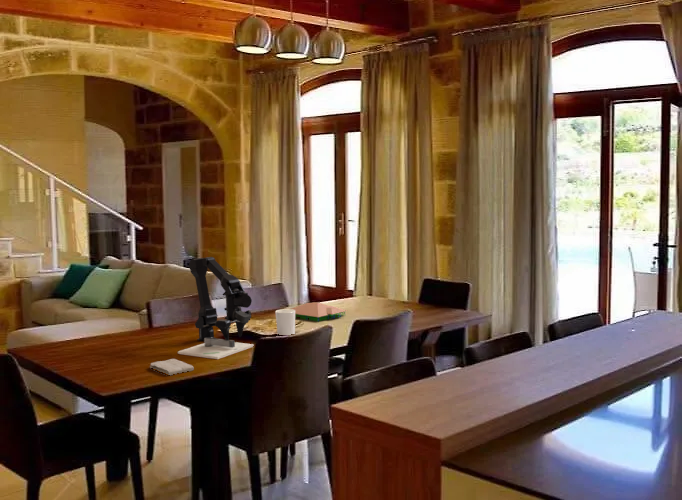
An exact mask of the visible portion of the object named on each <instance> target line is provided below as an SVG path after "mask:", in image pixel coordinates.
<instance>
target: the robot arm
mask: <svg viewBox="0 0 682 500" xmlns="http://www.w3.org/2000/svg"><path fill="white" fill-rule="evenodd" d="M188 267H189V271H190V273H191V275H192V276H193V277H194V279H195V284H196V288H197V289H196V290H197V293H198V294H197V295H198V300H199V307H200V308H199V310H198V319H197V320H196V322H194V326H195V329H198V337H199V338H197V339H196V340H197V341H203V342H204V338H206V337H213V338H216V337H215V334H214V327H216V328H217V329H219V330H220V332H221V334H222V335H223V338H224V339H225V340H230V330H231V328H232V326H231V324H233V323H235V326H236V330H237V335H238V337H239V338H241V337H242V335H243V332H244V328H245V326H246V324H248V323H249V321H251V319H252V311H251V310H244V311H243V310H242V308H249V307H250V306H251V305H252V302H253V301H252V298H251V296H250V295H249V293H248V292H246V291H245V289H244V287H243V285H242V283H241V281H240V279H239V278H238V277H236V276H235V275H232V274H230V273H228V272H227V271H226V270H225V269H224V268H223V267H222V265H221V264H219V263H218V262H217V260H216V259H215V257H214V256H209V257H208V256H207V257H198V258H192V259H190V260H189V263H188ZM208 270H209V271H210V272H211V273H212V274H213V275H214V276H215V277H216V278H217V279H218V280H219V281H220V286H221V288H222V289H223V290H224V292H223V293H222V296H225V307H224V308H223V309H224V311H226V313H225V314H226V316H224V319H222V318H221V319H218V316H219V315H218V313H217V308H216V307H213V306H212V304H211V299H210V298H211V297H210V293H209V288H208V287H209V286H208V282H207V281H208V280H207V277H206V275H207V273H208Z"/></svg>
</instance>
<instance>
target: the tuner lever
mask: <svg viewBox="0 0 682 500" xmlns="http://www.w3.org/2000/svg"><path fill="white" fill-rule="evenodd" d="M203 343H204V344H205V346H206V347H210V346H213V345H216V346H224V347H231V348H233V347H235V340H233V339H229V340H226V339H225V338H224V339H223V338H216V337H215V338H213V337H206V338H204V341H203Z"/></svg>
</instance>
